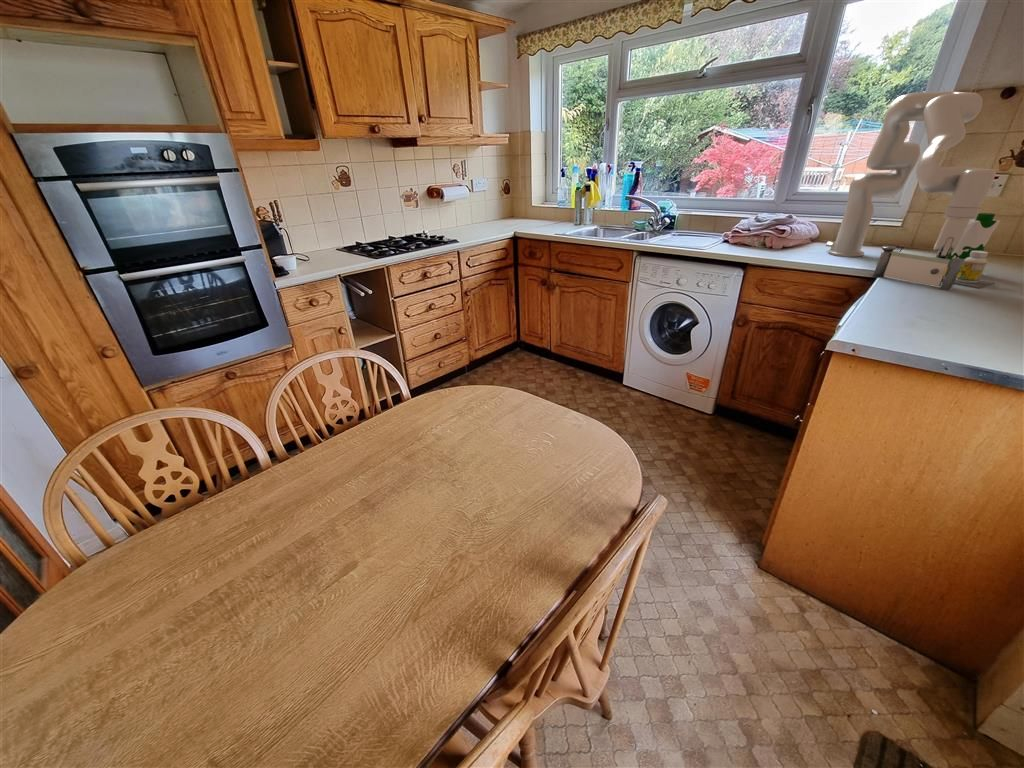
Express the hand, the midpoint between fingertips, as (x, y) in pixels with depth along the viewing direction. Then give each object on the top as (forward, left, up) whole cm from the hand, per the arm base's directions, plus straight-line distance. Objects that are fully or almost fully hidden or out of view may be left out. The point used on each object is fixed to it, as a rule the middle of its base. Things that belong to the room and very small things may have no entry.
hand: (935, 271), depth 142 cm
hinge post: (-14, -4, -4) cm, 15 cm away
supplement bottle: (+5, +10, -4) cm, 12 cm away
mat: (+5, +10, -4) cm, 12 cm away
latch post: (+6, -4, -4) cm, 8 cm away
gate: (-4, -4, -3) cm, 7 cm away
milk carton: (-4, +23, -4) cm, 24 cm away
